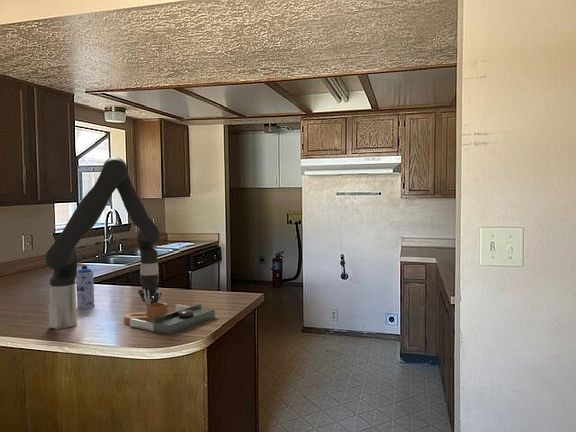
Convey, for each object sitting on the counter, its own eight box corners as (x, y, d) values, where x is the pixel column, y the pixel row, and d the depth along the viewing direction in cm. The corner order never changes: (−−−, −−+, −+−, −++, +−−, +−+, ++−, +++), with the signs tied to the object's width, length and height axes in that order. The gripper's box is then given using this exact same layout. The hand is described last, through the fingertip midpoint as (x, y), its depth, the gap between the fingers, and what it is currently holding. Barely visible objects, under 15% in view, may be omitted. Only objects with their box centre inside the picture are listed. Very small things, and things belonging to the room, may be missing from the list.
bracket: (169, 318, 188) (169, 302, 188) (164, 323, 180) (164, 307, 179) (128, 318, 187) (127, 303, 187) (121, 324, 179) (120, 308, 179)
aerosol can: (73, 308, 206) (71, 266, 205) (85, 304, 214) (84, 264, 212) (85, 309, 203) (84, 267, 202) (98, 305, 211) (97, 264, 210)
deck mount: (169, 334, 165) (168, 321, 165) (129, 326, 177) (129, 313, 176) (214, 317, 188) (214, 305, 187) (177, 310, 199) (177, 299, 199)
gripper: (132, 273, 189) (133, 312, 189) (153, 275, 182) (154, 316, 183) (145, 270, 195) (146, 308, 196) (166, 273, 188) (167, 312, 189)
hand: (150, 312), depth 189 cm, fingers closed
